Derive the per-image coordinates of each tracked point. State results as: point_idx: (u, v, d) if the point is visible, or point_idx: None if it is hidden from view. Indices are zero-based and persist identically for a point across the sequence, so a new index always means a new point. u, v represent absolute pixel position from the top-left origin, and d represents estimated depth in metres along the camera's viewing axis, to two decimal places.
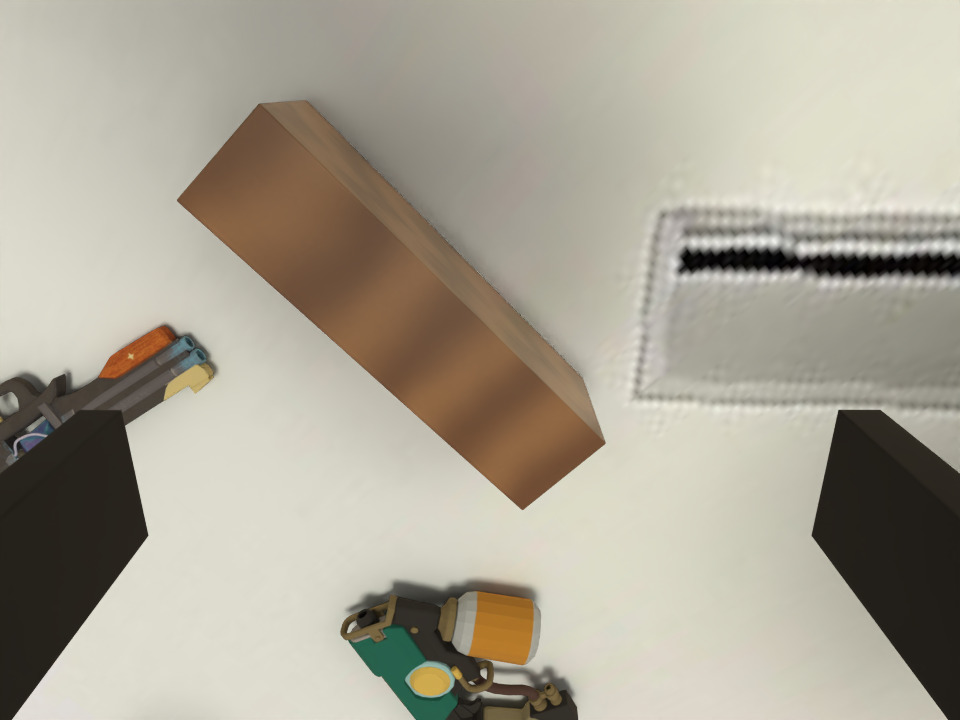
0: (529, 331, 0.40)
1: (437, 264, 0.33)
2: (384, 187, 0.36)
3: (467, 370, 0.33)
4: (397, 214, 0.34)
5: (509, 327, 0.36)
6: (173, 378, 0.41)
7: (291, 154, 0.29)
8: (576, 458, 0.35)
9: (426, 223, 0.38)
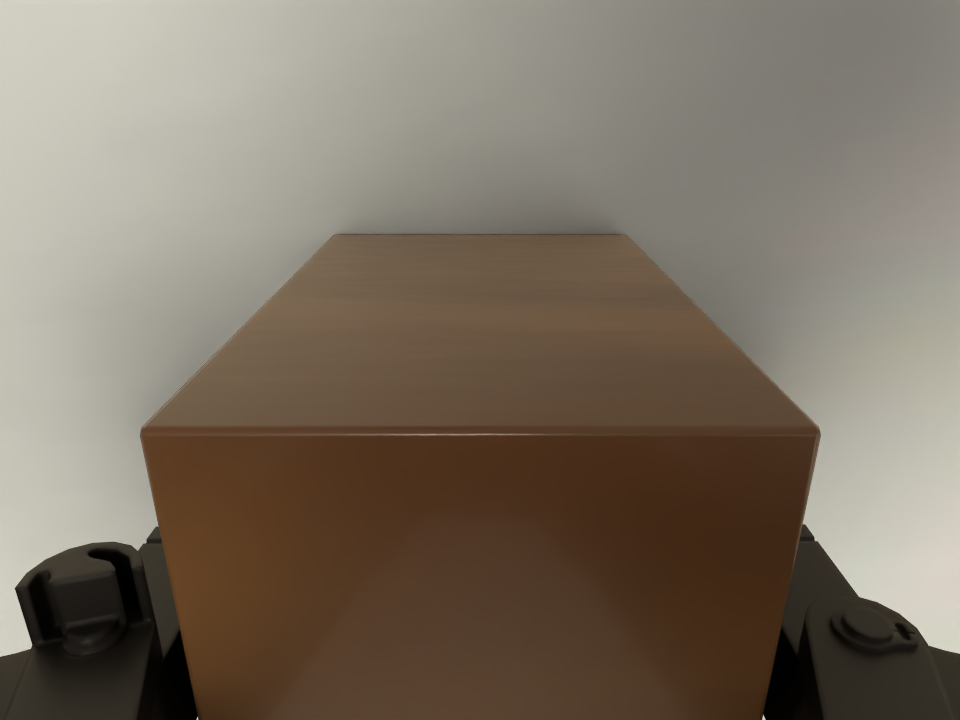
0: None
1: None
2: None
3: None
4: None
5: None
6: None
7: (717, 641, 0.07)
8: None
9: None
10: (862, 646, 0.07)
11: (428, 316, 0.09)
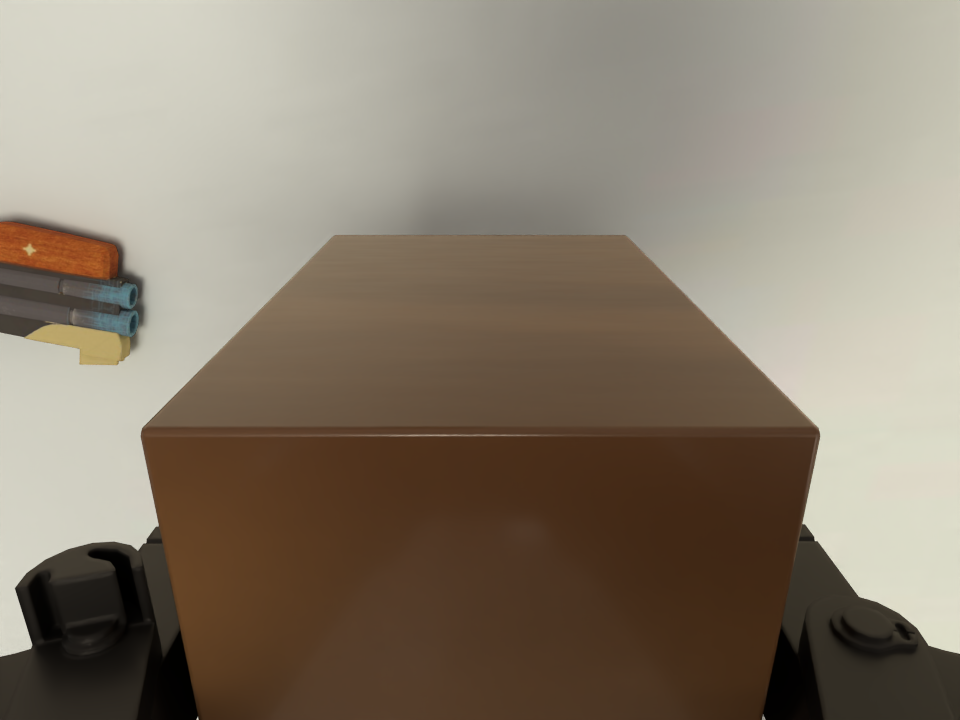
0: None
1: None
2: None
3: None
4: None
5: None
6: (66, 323, 0.24)
7: (716, 641, 0.07)
8: None
9: None
10: (861, 646, 0.07)
11: (427, 317, 0.09)
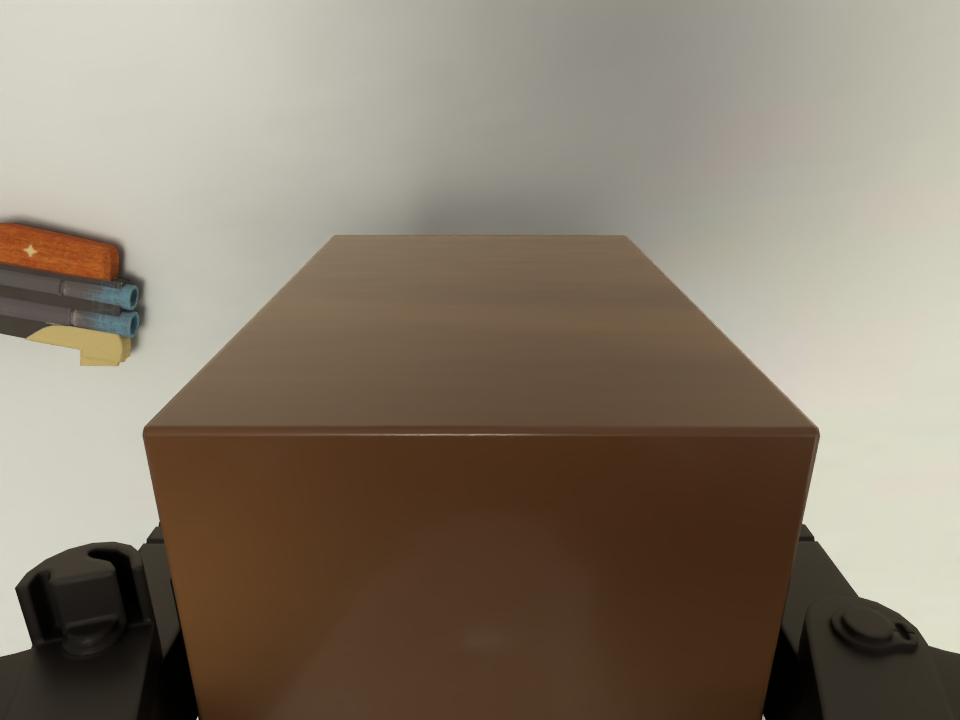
0: None
1: None
2: None
3: None
4: None
5: None
6: (67, 325, 0.24)
7: (716, 640, 0.07)
8: None
9: None
10: (861, 646, 0.07)
11: (428, 317, 0.09)
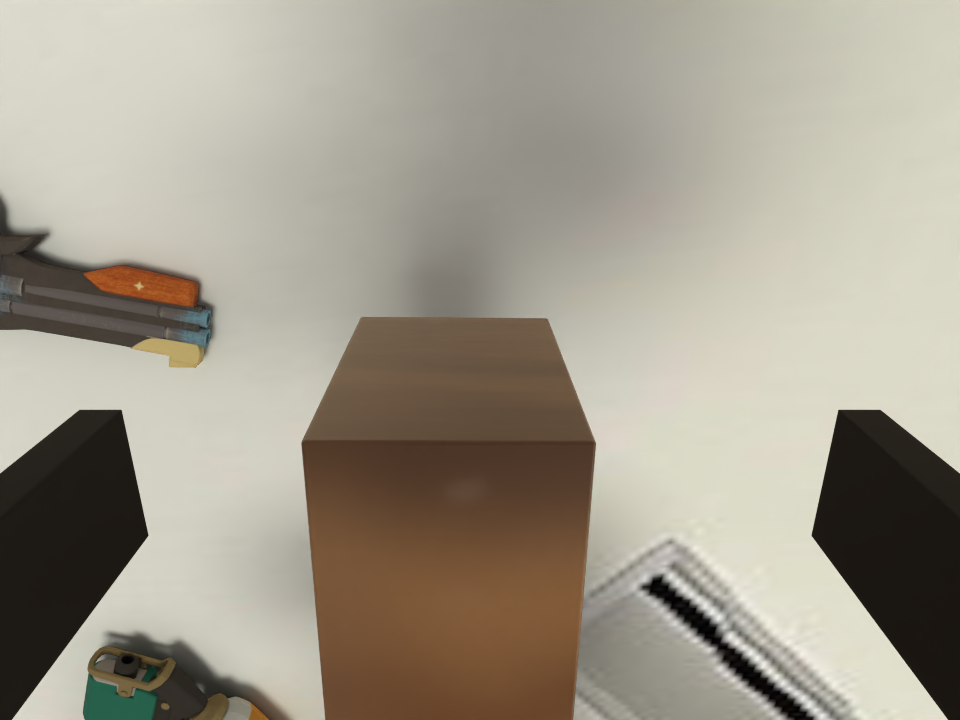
0: None
1: None
2: None
3: None
4: None
5: None
6: (161, 338, 0.33)
7: (558, 540, 0.14)
8: None
9: None
10: None
11: (423, 381, 0.16)
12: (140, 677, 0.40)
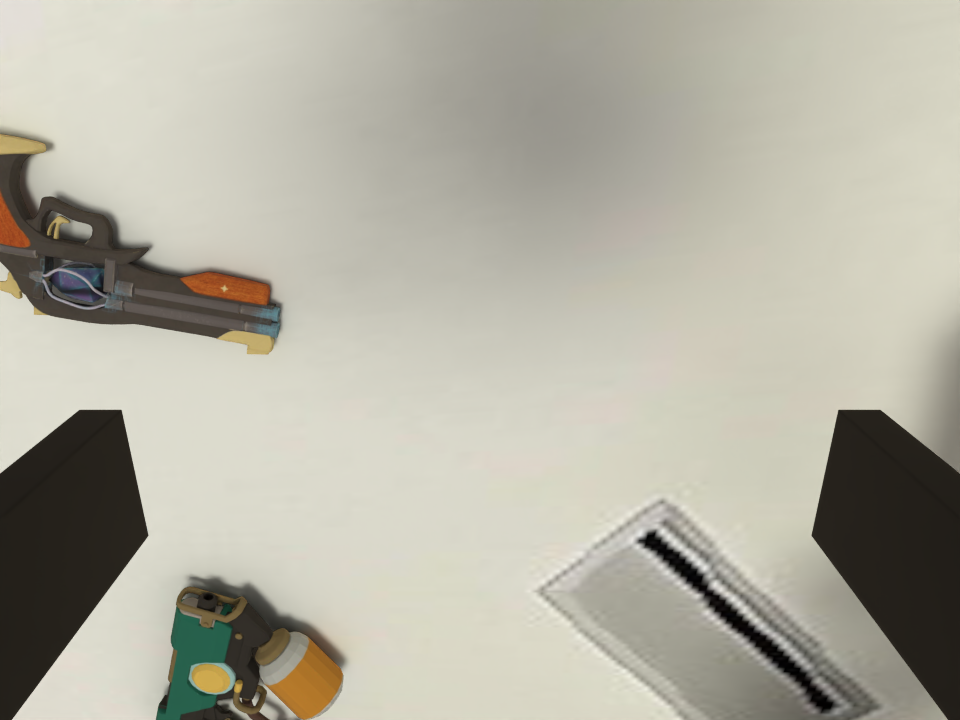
0: None
1: None
2: None
3: None
4: None
5: None
6: (241, 330, 0.41)
7: None
8: None
9: None
10: None
11: None
12: (218, 612, 0.48)
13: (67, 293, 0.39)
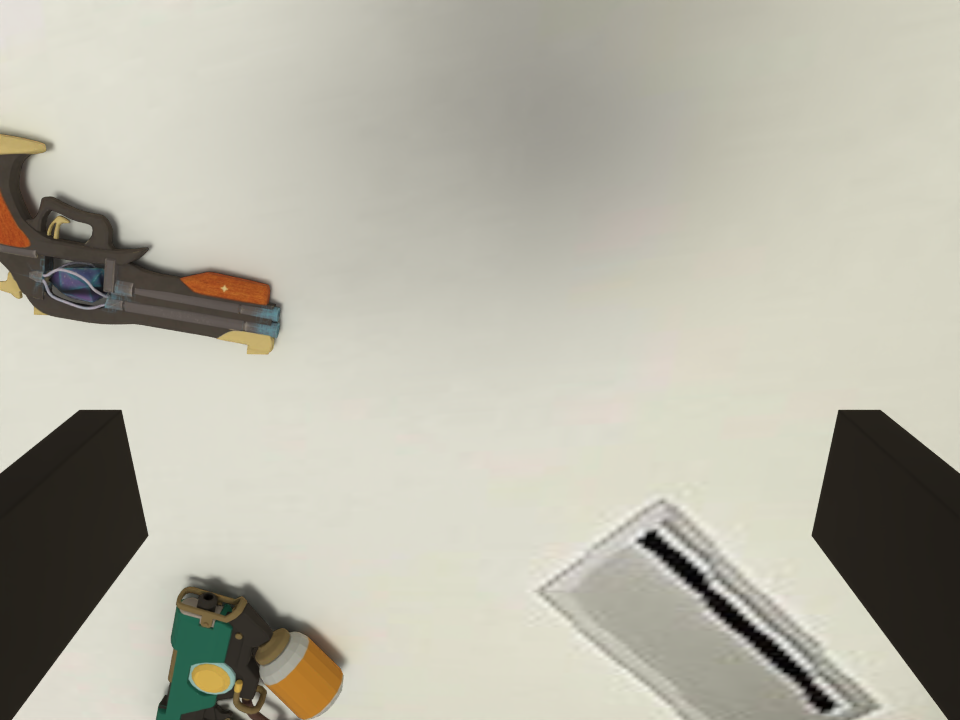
0: None
1: None
2: None
3: None
4: None
5: None
6: (241, 330, 0.41)
7: None
8: None
9: None
10: None
11: None
12: (218, 612, 0.48)
13: (67, 293, 0.39)
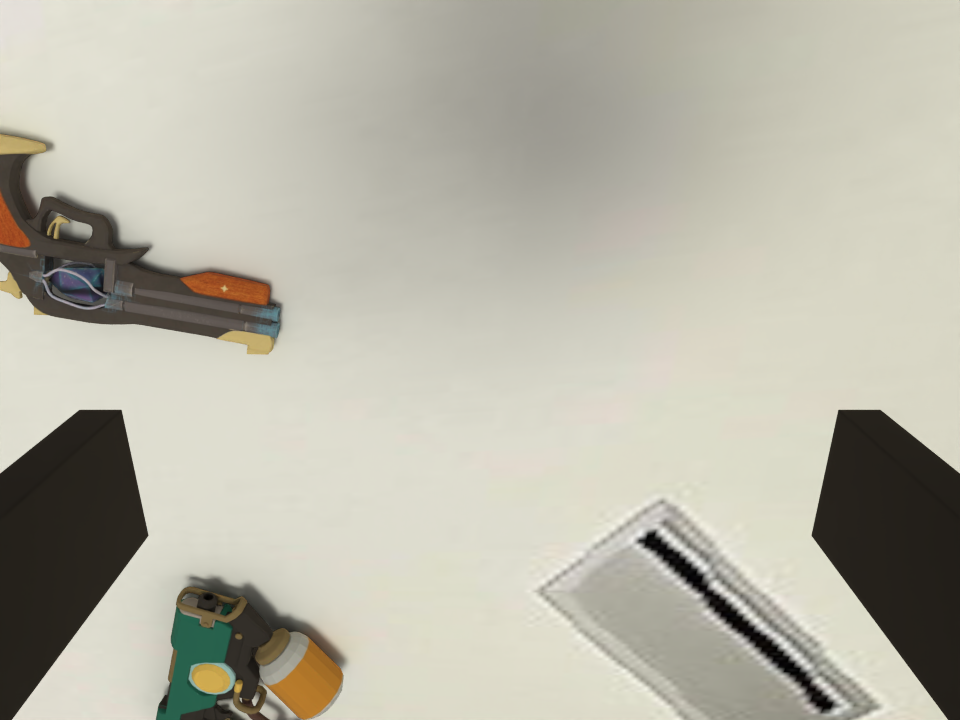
0: None
1: None
2: None
3: None
4: None
5: None
6: (241, 330, 0.41)
7: None
8: None
9: None
10: None
11: None
12: (218, 612, 0.48)
13: (67, 293, 0.39)
